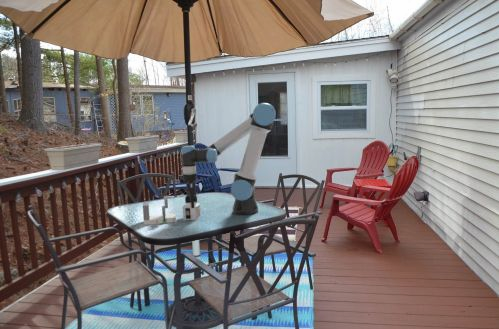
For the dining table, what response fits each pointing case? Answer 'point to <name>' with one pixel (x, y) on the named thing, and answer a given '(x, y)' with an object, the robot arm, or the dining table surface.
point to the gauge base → (156, 216)
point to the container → (187, 210)
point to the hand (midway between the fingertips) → (191, 210)
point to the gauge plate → (164, 206)
